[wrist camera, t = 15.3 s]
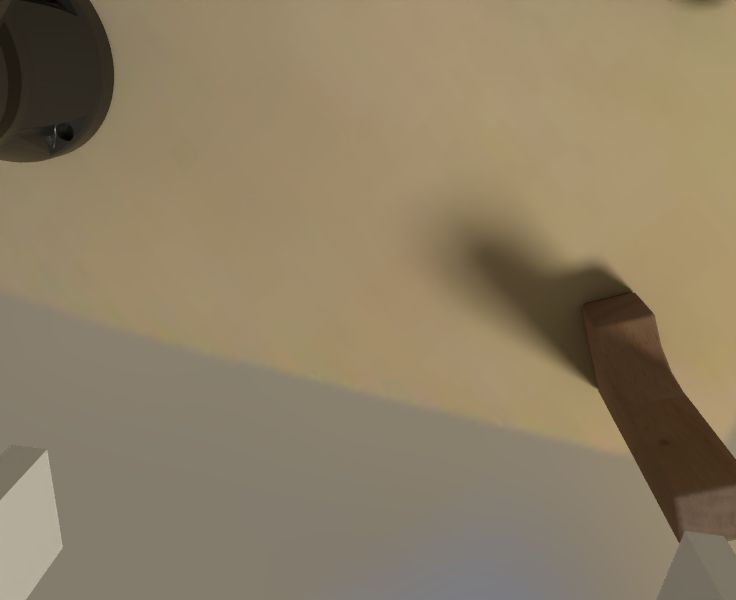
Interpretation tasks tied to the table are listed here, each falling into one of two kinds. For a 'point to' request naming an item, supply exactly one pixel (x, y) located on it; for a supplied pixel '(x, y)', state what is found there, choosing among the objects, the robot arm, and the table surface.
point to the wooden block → (660, 419)
